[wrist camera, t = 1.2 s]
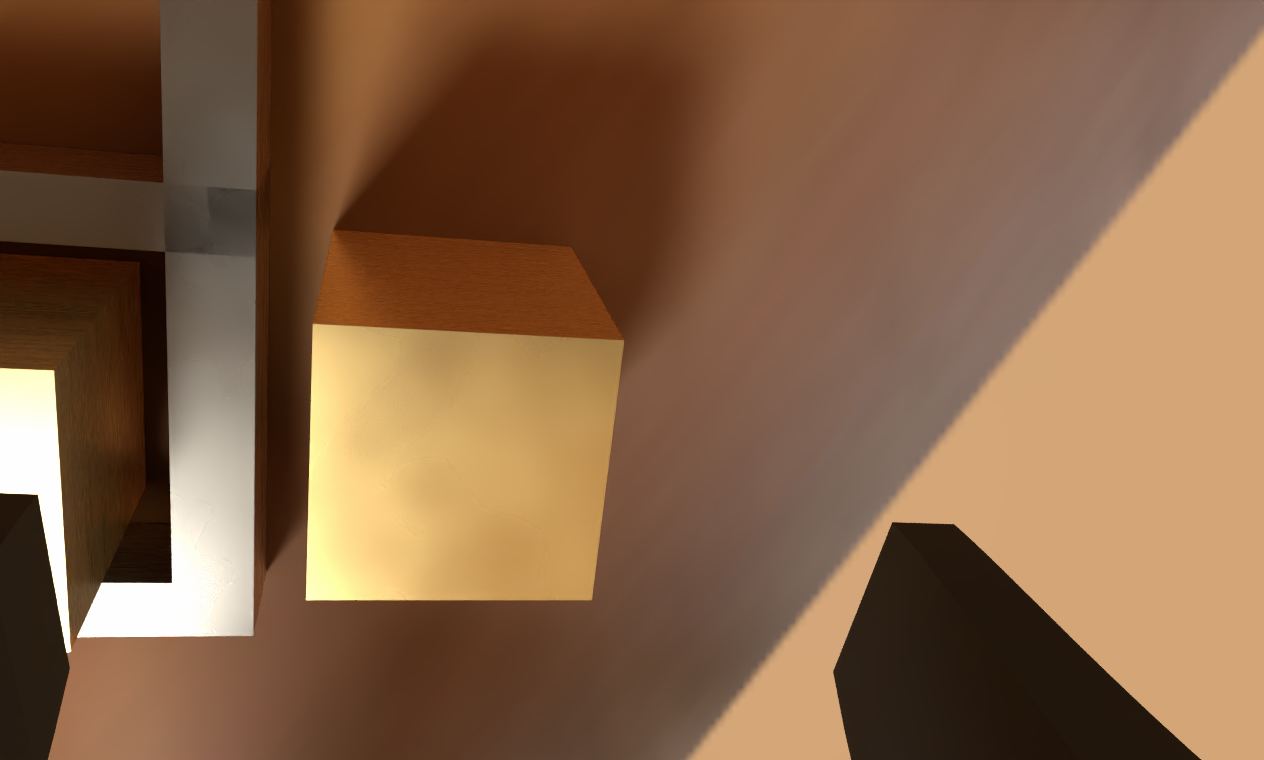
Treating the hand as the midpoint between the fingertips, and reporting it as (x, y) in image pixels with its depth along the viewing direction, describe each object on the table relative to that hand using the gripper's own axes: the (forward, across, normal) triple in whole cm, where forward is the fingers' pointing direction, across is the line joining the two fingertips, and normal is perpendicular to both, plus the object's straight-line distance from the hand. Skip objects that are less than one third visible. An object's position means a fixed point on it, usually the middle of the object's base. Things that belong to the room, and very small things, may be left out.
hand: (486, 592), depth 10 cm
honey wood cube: (+10, 0, +4) cm, 10 cm away
